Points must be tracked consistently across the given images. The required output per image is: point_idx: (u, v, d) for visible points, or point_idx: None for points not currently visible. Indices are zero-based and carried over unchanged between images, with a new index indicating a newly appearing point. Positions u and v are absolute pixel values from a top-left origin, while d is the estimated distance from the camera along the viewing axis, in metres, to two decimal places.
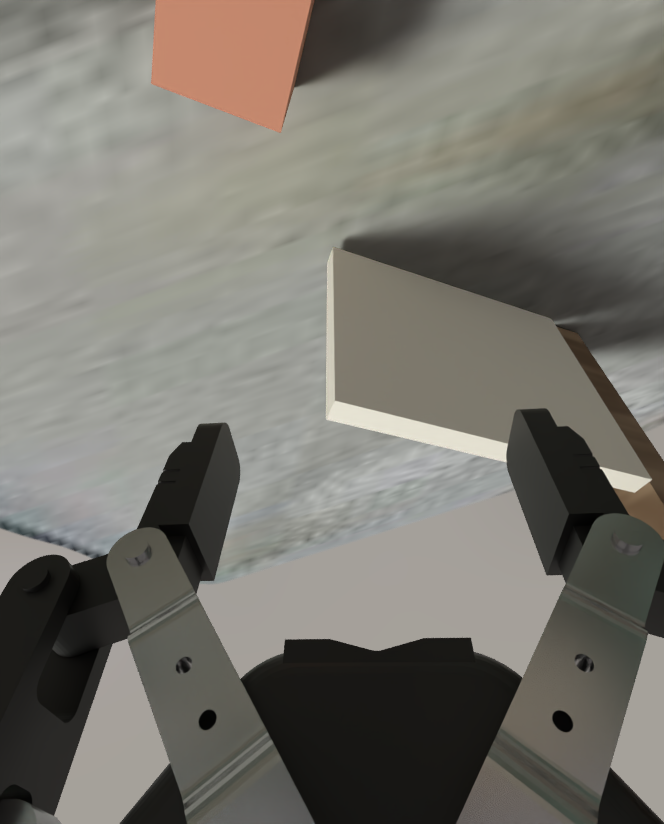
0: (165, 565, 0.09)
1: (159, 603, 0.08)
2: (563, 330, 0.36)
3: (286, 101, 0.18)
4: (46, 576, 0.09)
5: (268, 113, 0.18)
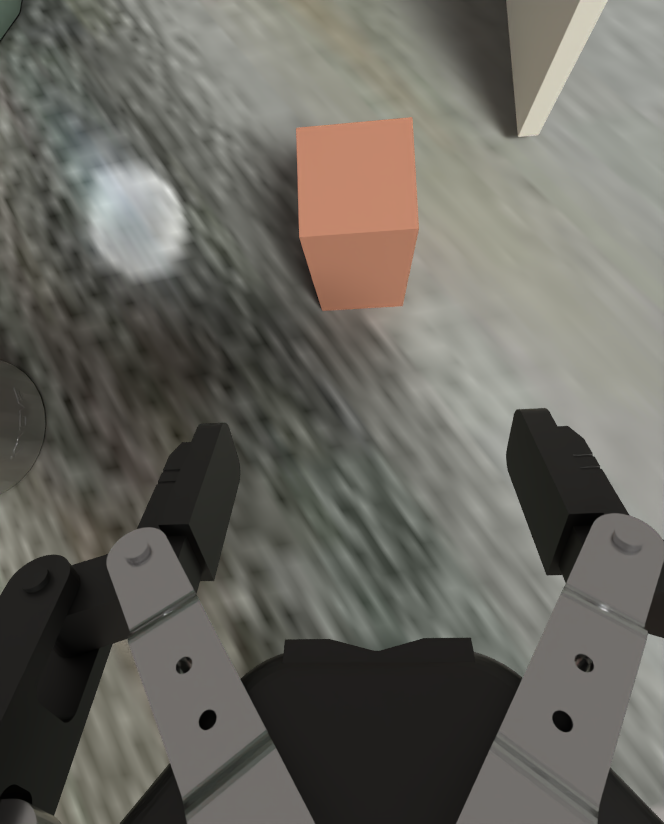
0: (165, 565, 0.09)
1: (159, 603, 0.08)
2: None
3: (386, 120, 0.20)
4: (46, 576, 0.09)
5: (401, 131, 0.20)
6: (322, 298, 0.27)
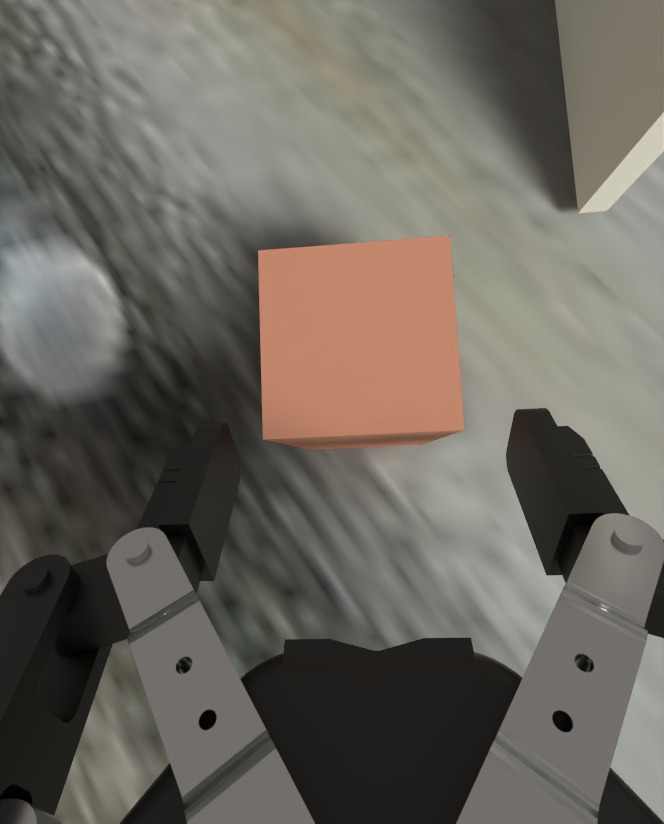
0: (165, 565, 0.09)
1: (159, 603, 0.08)
2: None
3: (406, 240, 0.12)
4: (46, 576, 0.09)
5: (432, 260, 0.12)
6: None
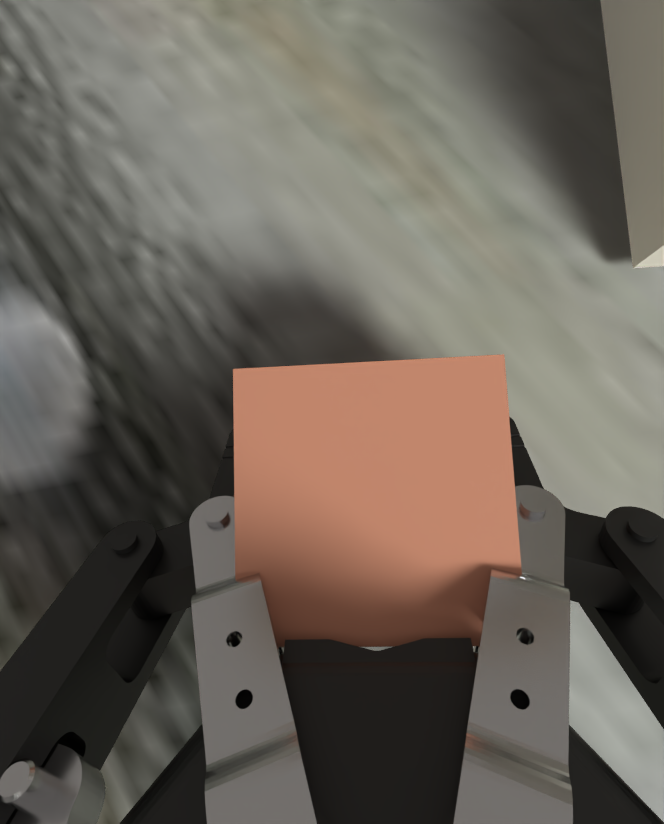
0: None
1: (226, 571, 0.09)
2: None
3: (442, 360, 0.08)
4: (134, 542, 0.09)
5: (478, 389, 0.08)
6: None
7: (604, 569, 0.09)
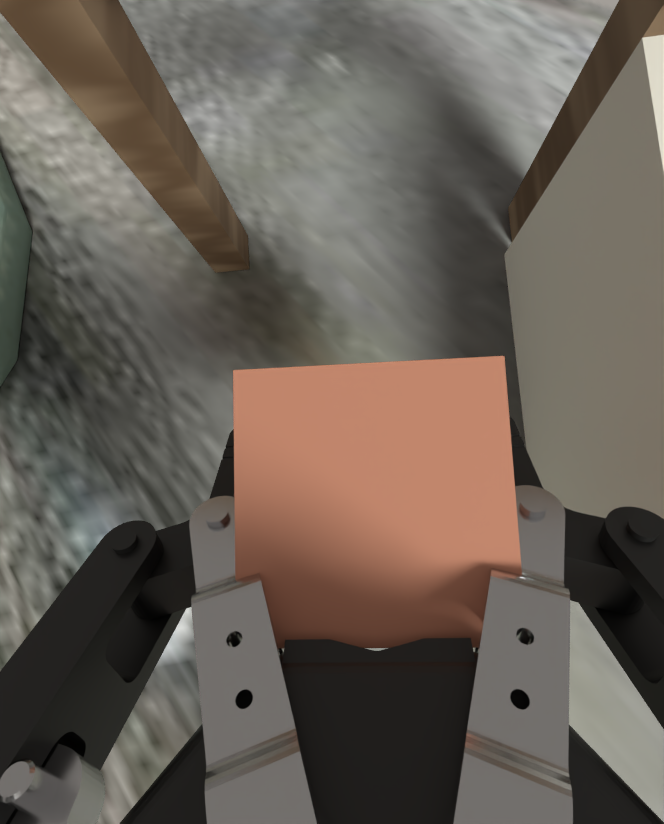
0: None
1: (226, 571, 0.09)
2: (511, 227, 0.30)
3: (442, 361, 0.08)
4: (134, 542, 0.09)
5: (479, 390, 0.08)
6: None
7: (604, 569, 0.09)
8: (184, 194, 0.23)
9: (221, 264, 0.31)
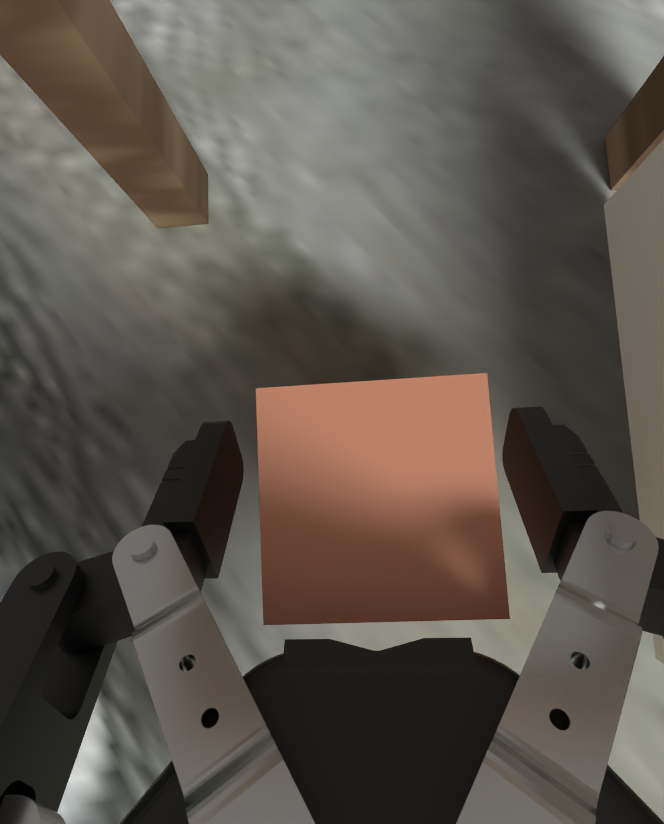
0: (170, 562, 0.09)
1: (164, 600, 0.08)
2: (612, 165, 0.19)
3: (434, 378, 0.10)
4: (52, 573, 0.09)
5: (465, 403, 0.10)
6: None
7: None
8: (57, 48, 0.12)
9: (162, 213, 0.20)
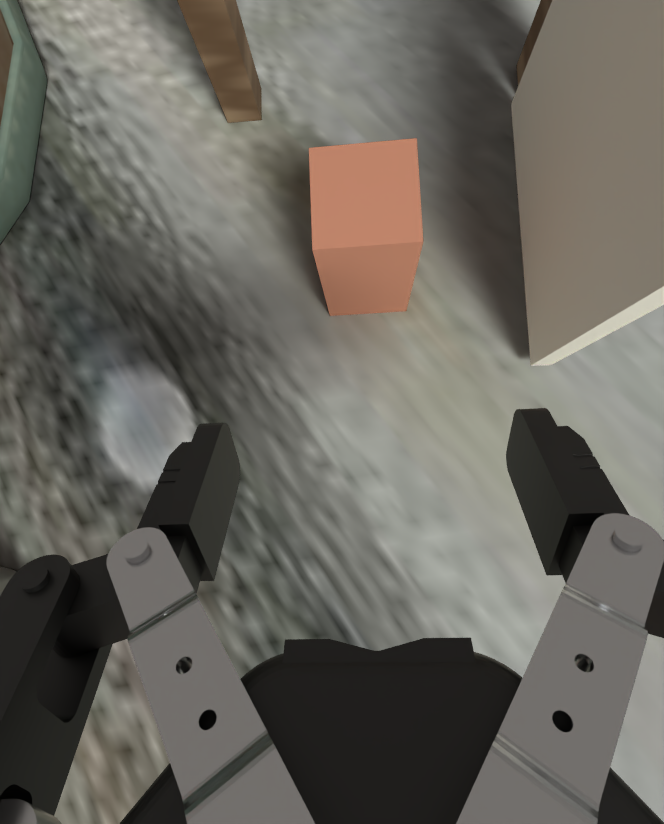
0: (165, 565, 0.09)
1: (159, 603, 0.08)
2: (519, 82, 0.31)
3: (392, 140, 0.21)
4: (46, 576, 0.09)
5: (406, 151, 0.21)
6: (330, 304, 0.28)
7: None
8: None
9: (234, 109, 0.31)
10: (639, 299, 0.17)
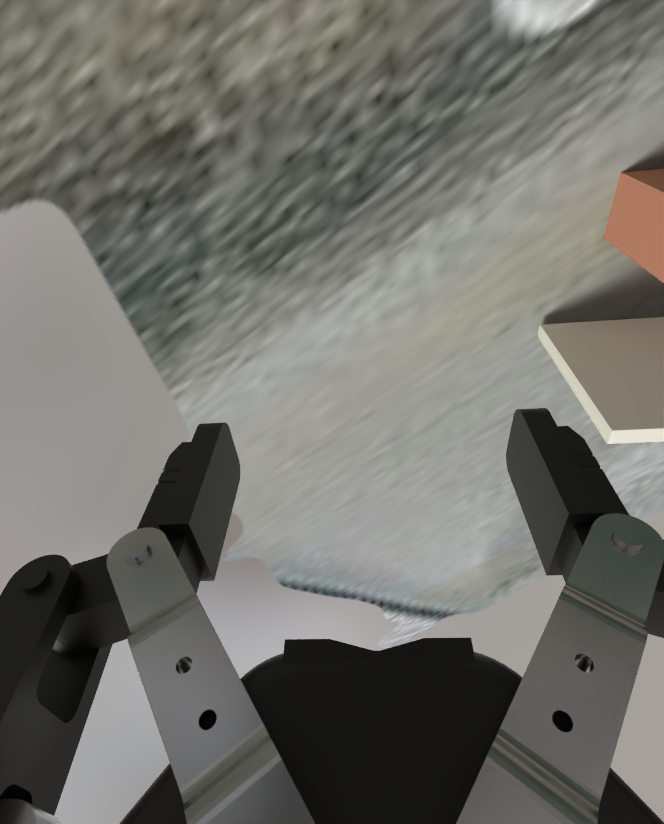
0: (165, 565, 0.09)
1: (159, 603, 0.08)
2: None
3: None
4: (46, 576, 0.09)
5: None
6: (633, 182, 0.34)
7: None
8: None
9: None
10: (590, 397, 0.34)
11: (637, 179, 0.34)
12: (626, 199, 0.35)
